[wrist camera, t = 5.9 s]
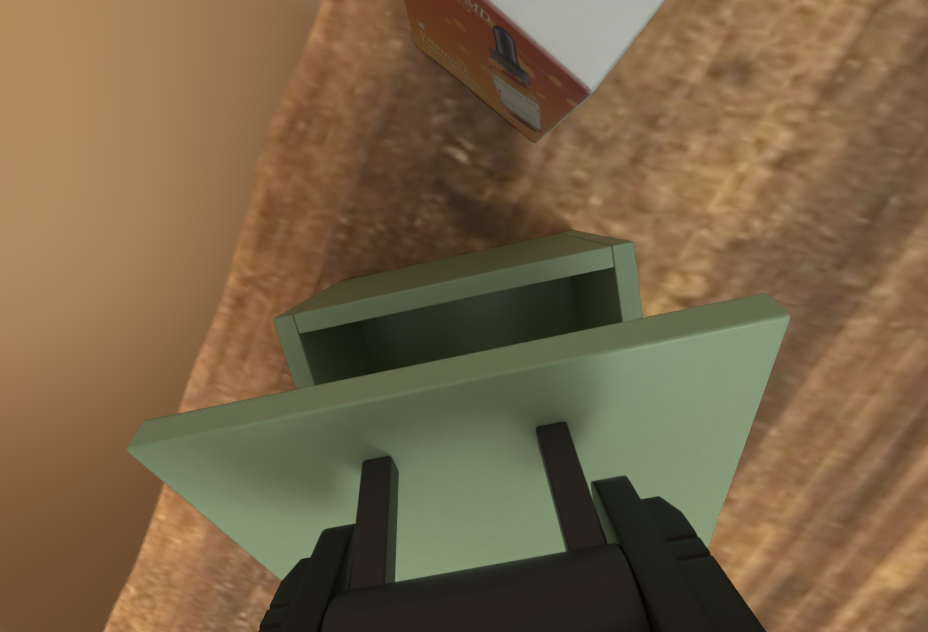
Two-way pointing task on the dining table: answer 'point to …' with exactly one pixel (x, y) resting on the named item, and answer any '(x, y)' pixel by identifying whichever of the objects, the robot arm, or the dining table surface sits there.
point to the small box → (529, 50)
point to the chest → (461, 306)
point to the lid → (484, 468)
